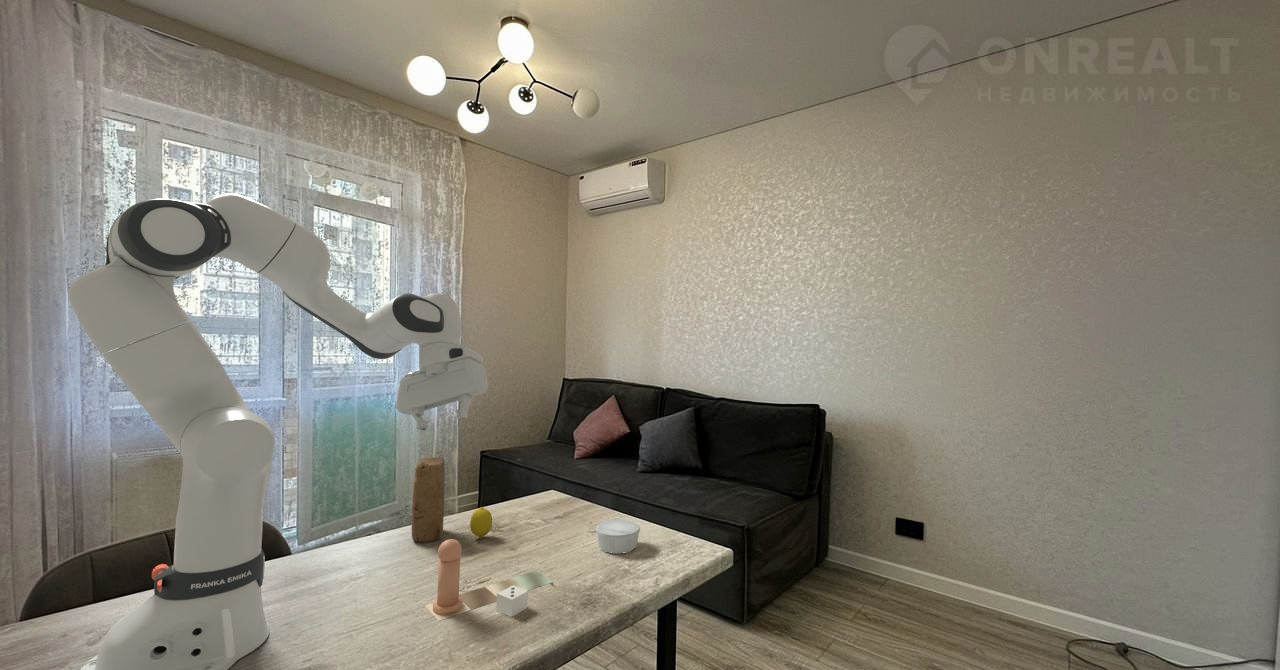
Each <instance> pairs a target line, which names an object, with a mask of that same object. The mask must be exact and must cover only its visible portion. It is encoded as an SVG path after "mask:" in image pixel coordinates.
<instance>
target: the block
mask: <svg viewBox="0 0 1280 670" xmlns="http://www.w3.org/2000/svg"><path fill="white" fill-rule="evenodd" d="M445 473H446V472H445V459H444V458H442V457H428V458H421V459H420V460H419V461H418V462H417V464H416V467H415V471H414V479H413V490H412V492H413V493H412V502H411V503H412V508H411V538H412V540H413V541H415V542H418V541H419V542H422V543H425V542H426V543H427V542H433V541H437V540H438V539H441V538H442V536H443V531H444V518H445V517H444V516H445V515H444V513H445V486H446V484H445V482H446V481H445V480H446V479H445V478H446V477H445V475H446V474H445ZM419 542H418V543H419Z"/></svg>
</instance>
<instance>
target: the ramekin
mask: <svg viewBox="0 0 1280 670" xmlns="http://www.w3.org/2000/svg"><path fill="white" fill-rule="evenodd" d="M640 532H641V527H640V525H639V524H638V523H637V522H634V521H631V520H626V519H610V520H605V521H602V522H600V523H598V524H597V525H596V527H595V533H596V536H597V545H598V547H599V549H600V550H601V549H602V550H603V551H602V550H601V551H602V552H604V551H606V552H610V553H611V552H612V553H623V552H629V551H631V550H633V549H634V548H635V549H636V548H637V546H638V540H639V539H638V538H639V534H640ZM635 549H634V550H635ZM634 550H633V551H634ZM606 552H605V553H606ZM610 553H609V554H610ZM629 553H630V552H629Z"/></svg>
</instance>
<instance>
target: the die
mask: <svg viewBox="0 0 1280 670" xmlns="http://www.w3.org/2000/svg"><path fill="white" fill-rule="evenodd" d="M528 593H529V591H526V590H524V589H521V588H518V587H516V586H511V587H509V588H507V589H505V590H503V591H501V592H499V593H497V601H496V605H495V606H496V611H497V612H499V613H501V614H503V615H506V616H509V617H511V618H512V617H514V616H515V615H518V614H519V613H521V612H522V611H524V610H526V609H527V608H528V595H529V594H528Z"/></svg>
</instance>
